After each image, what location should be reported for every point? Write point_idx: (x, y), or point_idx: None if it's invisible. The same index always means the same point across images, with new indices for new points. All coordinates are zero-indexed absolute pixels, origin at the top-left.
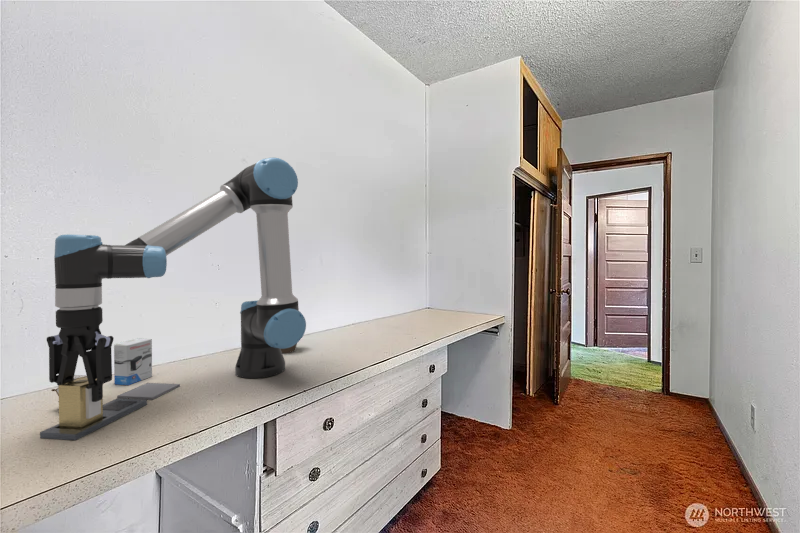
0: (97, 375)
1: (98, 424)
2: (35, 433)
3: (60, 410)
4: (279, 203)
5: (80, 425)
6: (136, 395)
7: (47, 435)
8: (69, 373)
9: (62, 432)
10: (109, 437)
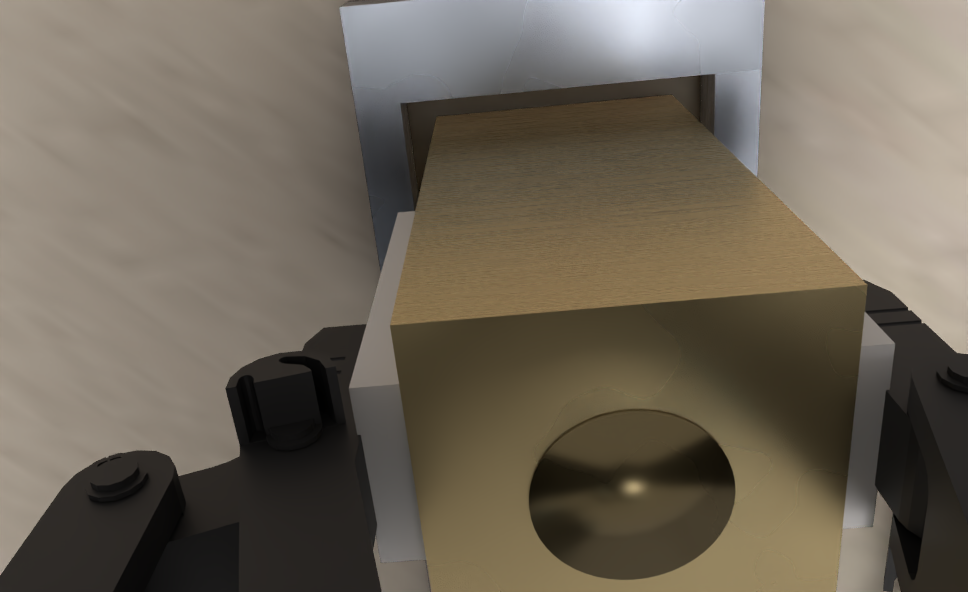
0: (96, 567)
1: (377, 247)
2: (897, 33)
3: (708, 154)
4: None
5: (435, 137)
6: None
7: None
8: (937, 585)
9: (516, 11)
10: (105, 121)
